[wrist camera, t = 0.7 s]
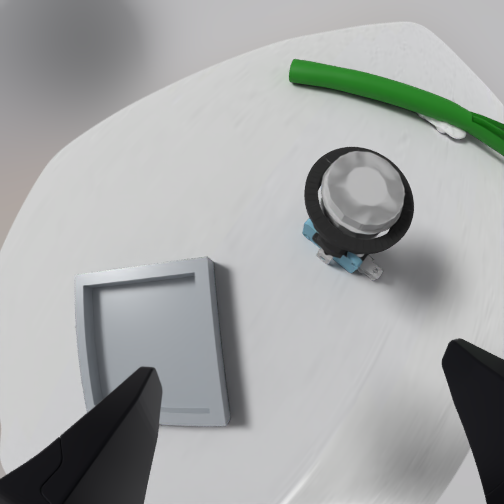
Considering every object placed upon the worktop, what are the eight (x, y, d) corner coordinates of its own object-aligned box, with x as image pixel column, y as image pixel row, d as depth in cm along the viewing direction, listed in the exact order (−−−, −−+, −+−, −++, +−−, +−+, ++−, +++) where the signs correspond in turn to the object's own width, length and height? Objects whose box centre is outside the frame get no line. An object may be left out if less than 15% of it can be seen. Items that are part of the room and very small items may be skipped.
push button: (392, 252, 20) (459, 202, 11) (352, 307, 20) (406, 294, 10) (326, 198, 22) (349, 117, 12) (283, 249, 22) (280, 191, 12)
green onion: (289, 95, 26) (536, 185, 19) (286, 72, 23) (551, 172, 16) (300, 68, 27) (530, 151, 20) (298, 46, 24) (543, 137, 17)
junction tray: (230, 418, 19) (226, 425, 17) (99, 410, 20) (87, 414, 18) (213, 261, 22) (207, 256, 20) (86, 278, 23) (74, 274, 21)
